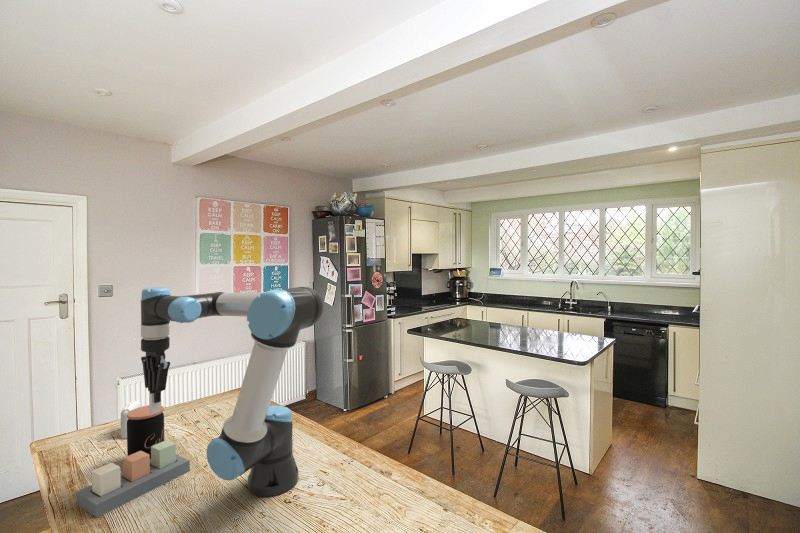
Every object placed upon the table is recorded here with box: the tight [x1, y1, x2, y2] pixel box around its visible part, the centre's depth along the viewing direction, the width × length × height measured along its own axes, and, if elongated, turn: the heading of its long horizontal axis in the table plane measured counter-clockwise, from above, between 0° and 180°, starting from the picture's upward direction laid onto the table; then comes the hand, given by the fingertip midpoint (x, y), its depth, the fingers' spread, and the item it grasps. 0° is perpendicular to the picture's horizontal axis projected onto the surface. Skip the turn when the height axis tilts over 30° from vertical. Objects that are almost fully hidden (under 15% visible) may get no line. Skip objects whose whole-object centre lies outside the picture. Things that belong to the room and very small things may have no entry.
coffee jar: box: [126, 404, 166, 459], centre depth 131 cm, size 11×11×18 cm
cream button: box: [91, 462, 121, 497], centre depth 111 cm, size 5×5×6 cm
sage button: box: [151, 439, 177, 469], centre depth 125 cm, size 5×5×6 cm
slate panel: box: [75, 454, 191, 518], centre depth 118 cm, size 12×26×4 cm, turn 151°
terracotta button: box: [122, 451, 150, 482], centre depth 118 cm, size 5×5×6 cm
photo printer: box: [120, 400, 142, 440], centre depth 153 cm, size 10×4×12 cm, turn 13°
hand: (155, 411), depth 120 cm, fingers closed
